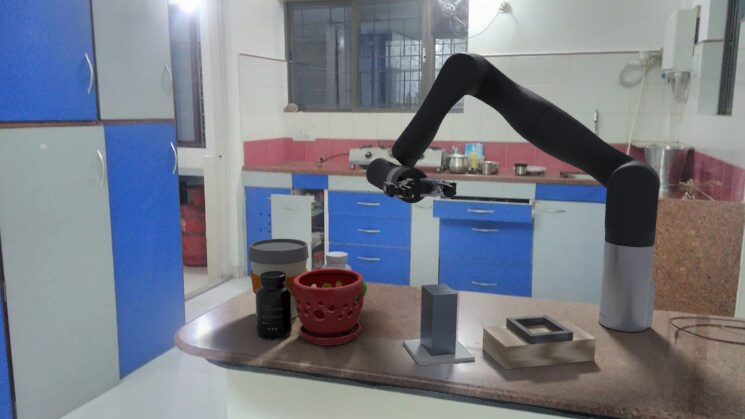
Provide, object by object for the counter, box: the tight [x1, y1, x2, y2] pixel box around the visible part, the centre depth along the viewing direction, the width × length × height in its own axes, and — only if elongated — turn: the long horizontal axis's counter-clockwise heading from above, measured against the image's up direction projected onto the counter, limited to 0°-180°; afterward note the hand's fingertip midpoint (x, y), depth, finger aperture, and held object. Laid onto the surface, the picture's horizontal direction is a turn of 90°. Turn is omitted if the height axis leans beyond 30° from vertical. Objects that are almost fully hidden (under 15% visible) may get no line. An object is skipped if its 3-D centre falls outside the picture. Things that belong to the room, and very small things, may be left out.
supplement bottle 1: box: [255, 271, 293, 341], centre depth 110 cm, size 7×7×12 cm
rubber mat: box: [402, 338, 476, 366], centre depth 104 cm, size 10×10×1 cm
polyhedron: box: [355, 280, 368, 301], centre depth 133 cm, size 5×5×5 cm
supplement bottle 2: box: [321, 251, 353, 288], centre depth 123 cm, size 7×7×13 cm
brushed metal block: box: [419, 283, 458, 356], centre depth 103 cm, size 4×6×11 cm
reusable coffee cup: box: [248, 238, 310, 319], centre depth 122 cm, size 13×13×15 cm
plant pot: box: [293, 268, 364, 346], centre depth 109 cm, size 13×13×12 cm
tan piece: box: [482, 314, 597, 370], centre depth 102 cm, size 17×9×6 cm, turn 104°
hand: (431, 192), depth 110 cm, fingers open, 8 cm apart
